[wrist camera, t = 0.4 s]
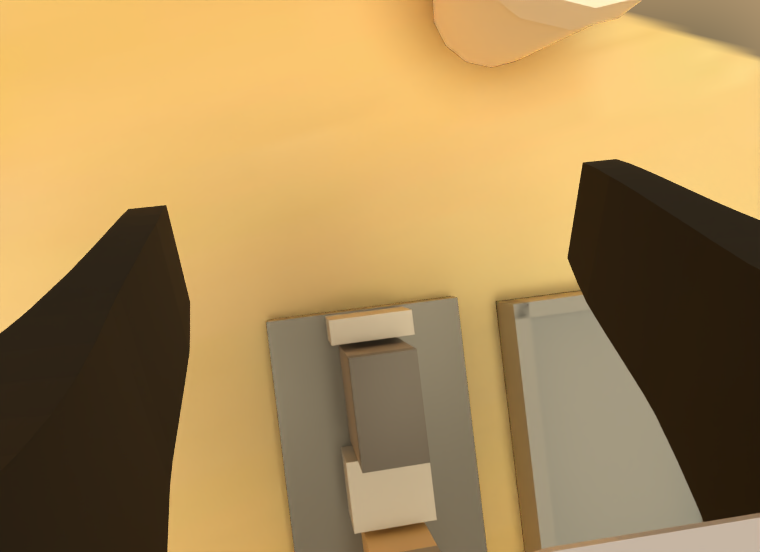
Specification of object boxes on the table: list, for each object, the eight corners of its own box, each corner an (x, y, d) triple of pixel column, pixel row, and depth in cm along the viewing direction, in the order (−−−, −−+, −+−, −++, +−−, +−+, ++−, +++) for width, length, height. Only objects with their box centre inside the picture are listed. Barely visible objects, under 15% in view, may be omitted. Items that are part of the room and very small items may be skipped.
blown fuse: (406, 431, 36) (430, 462, 30) (350, 439, 36) (362, 473, 30) (395, 336, 36) (417, 349, 30) (338, 344, 36) (348, 358, 30)
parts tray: (710, 552, 40) (744, 574, 37) (528, 586, 39) (548, 612, 36) (680, 277, 40) (712, 277, 37) (495, 301, 39) (513, 304, 36)
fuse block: (450, 296, 38) (472, 299, 34) (486, 604, 39) (512, 648, 34) (267, 320, 37) (264, 326, 32) (306, 639, 37) (309, 688, 33)
